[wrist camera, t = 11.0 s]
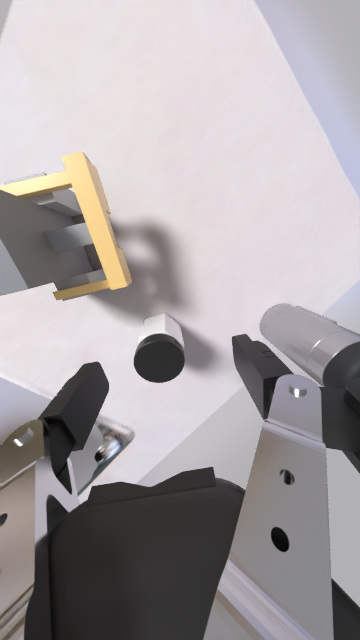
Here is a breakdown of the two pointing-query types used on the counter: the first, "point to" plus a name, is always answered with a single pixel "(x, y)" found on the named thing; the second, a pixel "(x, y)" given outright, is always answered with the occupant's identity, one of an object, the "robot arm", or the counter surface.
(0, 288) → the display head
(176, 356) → the jar
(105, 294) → the counter surface
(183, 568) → the robot arm
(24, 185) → the tan u-shaped bracket
